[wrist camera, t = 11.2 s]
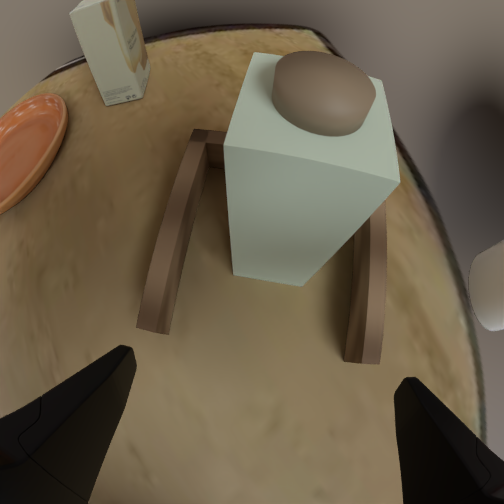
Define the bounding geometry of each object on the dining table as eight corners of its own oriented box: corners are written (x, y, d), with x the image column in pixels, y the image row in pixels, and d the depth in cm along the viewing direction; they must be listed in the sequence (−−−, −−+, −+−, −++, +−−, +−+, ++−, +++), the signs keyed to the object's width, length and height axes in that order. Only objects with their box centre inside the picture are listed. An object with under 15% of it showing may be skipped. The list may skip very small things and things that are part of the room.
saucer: (37, 99, 25) (28, 85, 22) (103, 123, 23) (93, 103, 21) (-36, 195, 21) (-49, 185, 18) (6, 256, 19) (-14, 245, 16)
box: (359, 362, 17) (379, 364, 14) (151, 330, 17) (135, 327, 15) (367, 183, 22) (381, 162, 19) (198, 153, 22) (193, 128, 19)
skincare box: (143, 99, 24) (114, -3, 12) (105, 108, 24) (66, 15, 12) (151, 66, 26) (132, -22, 14) (117, 74, 26) (90, -9, 14)
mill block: (301, 286, 19) (418, 161, 6) (233, 275, 19) (221, 116, 6) (308, 224, 20) (390, 60, 7) (245, 212, 20) (255, 29, 7)
